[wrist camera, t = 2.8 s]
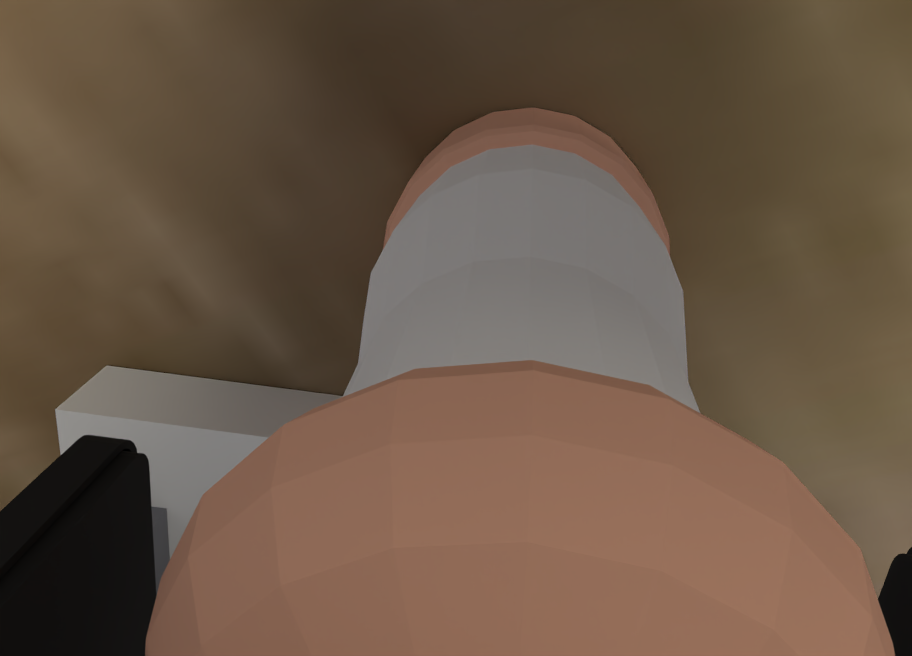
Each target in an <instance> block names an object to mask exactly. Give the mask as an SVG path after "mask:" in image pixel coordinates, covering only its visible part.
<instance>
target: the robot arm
mask: <svg viewBox="0 0 912 656" xmlns="http://www.w3.org/2000/svg"><path fill="white" fill-rule="evenodd" d="M155 600H156V578H155V560H154V542H153V524H152V506H151V488H150V471H149V461H148V458H147V456H146V455H145V454H144V453H137V448H136V446H135V444H134V443H133V442H132V441H131V440H126V439H118V438H110V437H103V436H95V435H84V436H82V437H81V438H79V439H78V440H77V441H76V442H75V443H73V444H72V445H71V446H70V447H69V448H68V449H67V450H66V451H65V452H64V453H63V454H62V455H61V456H59V457H58V458H57V459H56V460H55V461H54V462H53V463H52V464H51V465H50V466H49V467H48V468H47V469H45V470H44V471H43V472H42V473H41V474H40V475H39V476H38V477H37V478H36V479H35V480H34V481H33V482H31V483H30V484H29V485H28V486H27V487H26V488H25V489H24V490H23V491H22V492H21V493H20V494H19V495H17V496H16V497H15V498H14V499H13V500H12V501H11V502H10V503H9V504H8V505H7V506H6V507H5V508H3V509H2V510H1V511H0V656H145V644H146V636H147V632H148V628H149V624H150V620H151V616H152V612H153V608H154V604H155ZM878 601H879V604H880V607H881V610H882V613H883V616H884V619H885V622H886V625H887V628H888V631H889V634H890V636H891V639H892V642H893V647H894V652H895V656H912V547H911V548H910V549H909V550H908V552H907V554H899V555H897V556H896V557H895V558H894V560H893V562H892V564H891V566H890V569H889V571H888V574H887V577H886V579H885V582H884V585H883V587H882V590H881V593H880V595H879V598H878Z"/></svg>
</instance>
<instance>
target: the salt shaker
mask: <svg viewBox="0 0 912 656" xmlns="http://www.w3.org/2000/svg"><path fill="white" fill-rule="evenodd" d="M145 656H895V652H894V647H893V642H892V639H891V636H890V634H889V631H888V628H887V625H886V622H885V619H884V616H883V613H882V610H881V607H880V604H879V601H878V599H877V596H876V593H875V590H874V587H873V584H872V581H871V578H870V575H869V572H868V569H867V567H866V564H865V561H864V558H863V555H862V552H861V549H860V548H859V547H858V545H857V544H856V543H855V542H854V541H853V540H852V539H851V538H850V536H849V535H848V534H847V533H846V532H845V531H844V530H843V529H842V528H841V526H840V525H839V524H838V523H837V522H836V521H835V520H834V519H833V517H832V516H831V515H830V514H829V513H828V512H827V511H826V510H825V508H824V507H823V506H822V505H821V504H820V503H819V502H818V501H817V499H816V498H815V497H814V496H813V495H812V494H811V493H810V492H809V491H808V489H807V488H806V487H805V486H804V485H803V484H802V483H801V482H800V480H799V479H798V478H797V477H796V476H795V475H794V474H793V473H792V471H791V470H790V469H789V468H788V467H787V466H786V465H785V464H784V462H782V461H780V460H779V459H777V458H776V457H774V456H773V455H771V454H769V453H768V452H766V451H765V450H763V449H762V448H760V447H759V446H757V445H755V444H754V443H752V442H751V441H749V440H748V439H746V438H744V437H742V436H740V435H739V434H737V433H735V432H733V431H731V430H730V429H728V428H726V427H724V426H722V425H720V424H719V423H717V422H715V421H713V420H711V419H710V418H708V417H706V416H704V415H702V414H701V413H700V411H699V408H698V406H697V403H696V401H695V398H694V395H693V393H692V390H691V388H690V385H689V383H688V369H687V351H686V333H685V315H684V297H683V290H682V287H681V284H680V282H679V279H678V277H677V274H676V271H675V269H674V266H673V264H672V261H671V258H670V239H669V234H668V232H667V229H666V227H665V224H664V221H663V219H662V216H661V213H660V211H659V208H658V206H657V203H656V200H655V198H654V195H653V193H652V192H651V190H650V188H649V187H648V185H647V184H646V182H645V180H644V179H643V177H642V176H641V174H640V172H639V171H638V169H637V168H636V167H635V165H634V164H633V163H632V162H631V161H630V159H629V158H628V157H627V156H626V155H625V154H624V152H623V151H622V150H621V149H620V148H619V146H618V145H617V144H616V143H615V142H614V141H613V139H612V138H611V137H610V136H608V135H606V134H605V133H603V132H601V131H600V130H598V129H596V128H594V127H593V126H591V125H589V124H588V123H586V122H584V121H583V120H581V119H579V118H578V117H576V116H573V115H568V114H563V113H559V112H554V111H549V110H544V109H540V108H535V107H532V108H523V109H515V110H506V111H498V112H491V113H489V114H487V115H485V116H483V117H481V118H479V119H476V120H474V121H472V122H470V123H468V124H466V125H464V126H461V127H459V128H457V129H455V130H454V131H453V132H452V133H451V134H450V135H449V136H447V137H446V138H445V139H444V140H443V141H442V142H441V143H440V144H439V145H438V146H437V147H436V148H435V149H434V150H433V151H432V152H431V153H430V154H428V155H427V156H426V157H425V159H424V160H423V162H422V163H421V164H420V166H419V167H418V169H417V170H416V172H415V173H414V174H413V176H412V177H411V179H410V180H409V182H408V183H407V185H406V187H405V189H404V191H403V193H402V195H401V197H400V198H399V200H398V202H397V204H396V206H395V208H394V210H393V212H392V213H391V215H390V217H389V219H388V221H387V227H386V233H385V239H384V245H383V251H382V253H381V255H380V257H379V258H378V260H377V262H376V264H375V266H374V268H373V270H372V271H371V275H370V281H369V288H368V294H367V301H366V307H365V314H364V320H363V328H362V336H361V344H360V352H359V360H358V365H357V367H356V369H355V371H354V373H353V375H352V377H351V380H350V382H349V384H348V386H347V388H346V390H345V392H344V395H343V397H341V398H339V399H336V400H334V401H331V402H329V403H326V404H324V405H321V406H318V407H316V408H314V409H312V410H310V411H308V412H306V413H304V414H303V415H301V416H299V417H297V418H295V419H293V420H291V421H290V422H288V423H286V424H284V425H283V426H282V427H280V428H279V429H278V430H277V431H276V432H275V433H273V434H272V435H271V436H270V437H269V438H268V439H266V440H265V441H264V442H263V443H262V444H261V445H260V446H258V447H257V448H256V449H255V450H254V451H253V452H251V453H250V454H249V455H248V456H247V457H246V458H244V459H243V460H242V461H241V462H240V463H239V464H238V465H236V466H235V467H234V468H233V469H232V470H231V471H229V472H228V473H227V474H226V475H225V476H224V477H222V478H221V479H220V480H219V481H218V482H217V483H216V484H214V485H213V486H212V487H211V488H210V489H209V490H207V491H206V492H205V493H204V494H203V495H202V497H201V499H200V501H199V503H198V505H197V507H196V509H195V511H194V513H193V515H192V517H191V519H190V521H189V523H188V525H187V527H186V529H185V531H184V533H183V535H182V537H181V539H180V541H179V543H178V545H177V547H176V549H175V551H174V553H173V555H172V557H171V559H170V561H169V563H168V565H167V567H166V569H165V571H164V573H163V575H162V577H161V580H160V584H159V588H158V592H157V596H156V600H155V604H154V608H153V612H152V616H151V620H150V624H149V628H148V632H147V636H146V644H145Z"/></svg>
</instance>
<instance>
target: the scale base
mask: <svg viewBox="0 0 912 656" xmlns="http://www.w3.org/2000/svg"><path fill="white" fill-rule="evenodd" d="M341 397H343V396H339V395H331V394H323V393H315V392H308V391H300V390H292V389H285V388H277V387H269V386H261V385H254V384H246V383H238V382H230V381H223V380H215V379H207V378H199V377H192V376H184V375H176V374H169V373H161V372H153V371H145V370H138V369H130V368H122V367H114V366H105V367H104V368H103V369H102V370H101V371H100V372H98V373H97V374H96V375H95V376H94V377H92V378H91V379H90V380H89V381H88V382H87V383H85V384H84V385H83V386H82V387H81V388H80V389H78V390H77V391H76V392H75V393H74V394H73V395H71V396H70V397H69V398H68V399H67V400H66V401H64V402H63V403H62V404H61V405H60V406H58V407H57V408H56V409H55V412H56V420H57V429H58V437H59V445H60V454H61V455H62V454H63V453H64V452H65V451H66V450H67V449H68V448H69V447H70V446H71V445H72V444H73V443H75V442H76V441H77V440H78V439H79V438H81V437H82V436H84V435H95V436H103V437H110V438H118V439H126V440H131V441H132V442H133V443H134V444H135V446H136V448H137V453H144V454H145V455H146V456H147V458H148V461H149V471H150V488H151V506H152V524H153V542H154V560H155V578H156V596H157V592H158V588H159V584H160V580H161V577H162V575H163V573H164V571H165V569H166V567H167V565H168V563H169V561H170V559H171V557H172V555H173V553H174V551H175V549H176V547H177V545H178V543H179V541H180V539H181V537H182V535H183V533H184V531H185V529H186V527H187V525H188V523H189V521H190V519H191V517H192V515H193V513H194V511H195V509H196V507H197V505H198V503H199V501H200V499H201V497H202V495H203V494H204V493H205V492H206V491H207V490H209V489H210V488H211V487H212V486H213V485H214V484H216V483H217V482H218V481H219V480H220V479H221V478H222V477H224V476H225V475H226V474H227V473H228V472H229V471H231V470H232V469H233V468H234V467H235V466H236V465H238V464H239V463H240V462H241V461H242V460H243V459H244V458H246V457H247V456H248V455H249V454H250V453H251V452H253V451H254V450H255V449H256V448H257V447H258V446H260V445H261V444H262V443H263V442H264V441H265V440H266V439H268V438H269V437H270V436H271V435H272V434H273V433H275V432H276V431H277V430H278V429H279V428H280V427H282V426H283V425H284V424H286V423H288V422H290V421H291V420H293V419H295V418H297V417H299V416H301V415H303V414H304V413H306V412H308V411H310V410H312V409H314V408H316V407H318V406H321V405H324V404H326V403H329V402H331V401H334V400H336V399H339V398H341Z"/></svg>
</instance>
